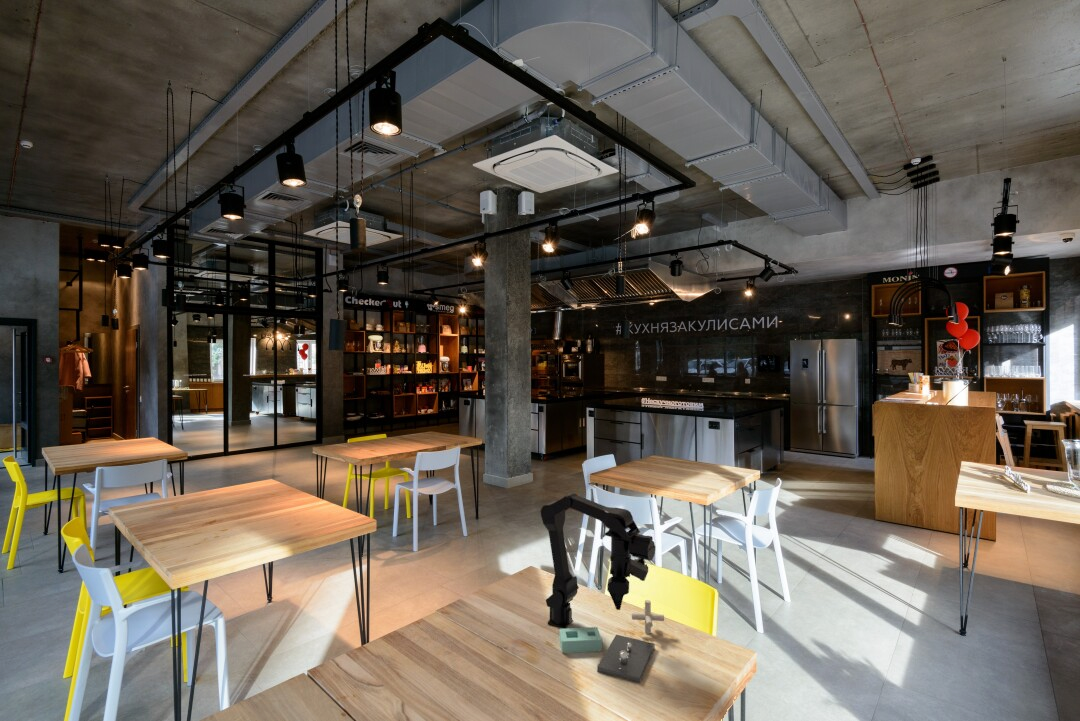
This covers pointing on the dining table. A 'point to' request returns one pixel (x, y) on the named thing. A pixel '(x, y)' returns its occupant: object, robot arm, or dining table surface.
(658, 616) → the pipe connector
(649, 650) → the post base
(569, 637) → the teal hollow block
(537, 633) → the dining table surface
